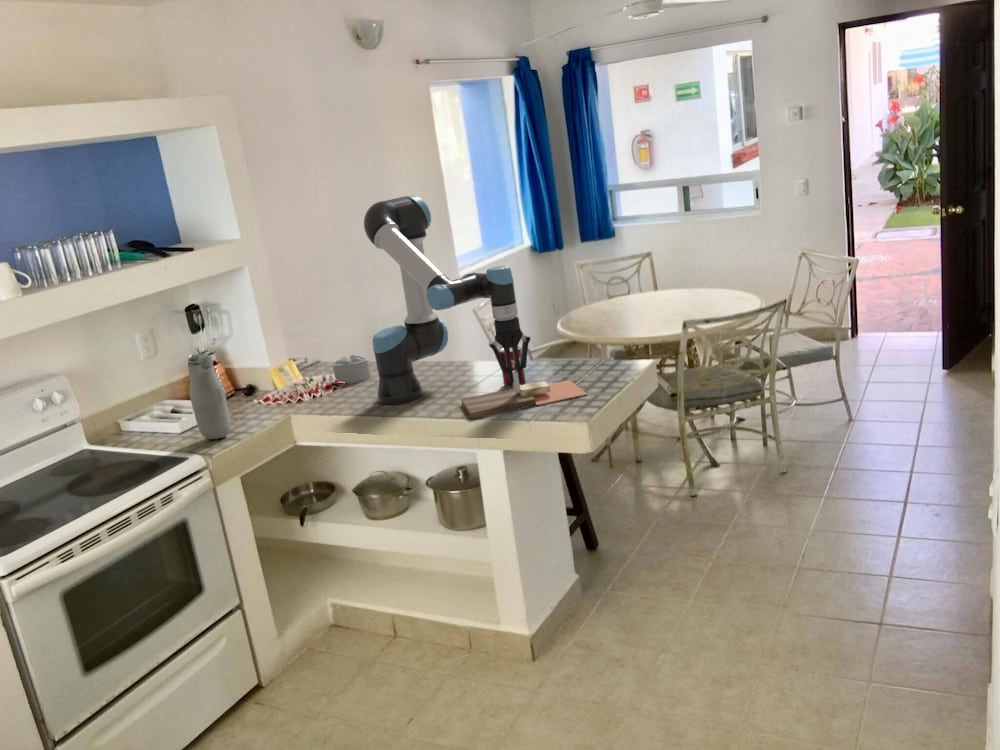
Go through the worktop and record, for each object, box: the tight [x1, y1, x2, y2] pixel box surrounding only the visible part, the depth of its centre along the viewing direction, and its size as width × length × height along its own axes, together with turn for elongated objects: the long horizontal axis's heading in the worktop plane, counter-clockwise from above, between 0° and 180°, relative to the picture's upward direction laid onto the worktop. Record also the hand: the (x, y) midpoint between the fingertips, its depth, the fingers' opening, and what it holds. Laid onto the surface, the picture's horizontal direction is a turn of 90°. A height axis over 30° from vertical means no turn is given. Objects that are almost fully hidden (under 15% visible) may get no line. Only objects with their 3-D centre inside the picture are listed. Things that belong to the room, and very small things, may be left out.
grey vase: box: [187, 353, 232, 440], centre depth 283 cm, size 10×10×28 cm
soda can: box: [499, 346, 526, 388], centre depth 293 cm, size 7×7×12 cm
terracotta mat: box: [532, 379, 588, 406], centre depth 278 cm, size 18×16×1 cm
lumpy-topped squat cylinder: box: [332, 353, 372, 384], centre depth 332 cm, size 10×13×9 cm
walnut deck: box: [460, 387, 536, 420], centre depth 275 cm, size 16×20×2 cm
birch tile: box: [519, 380, 550, 396], centre depth 276 cm, size 9×6×2 cm, turn 102°
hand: (517, 391), depth 275 cm, fingers closed
